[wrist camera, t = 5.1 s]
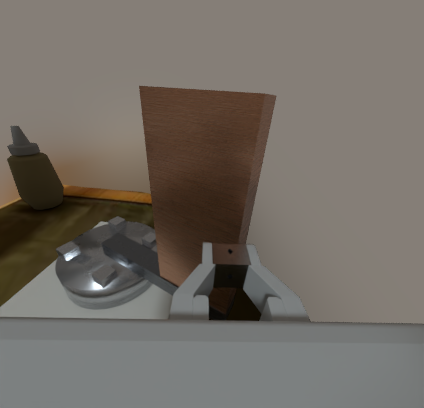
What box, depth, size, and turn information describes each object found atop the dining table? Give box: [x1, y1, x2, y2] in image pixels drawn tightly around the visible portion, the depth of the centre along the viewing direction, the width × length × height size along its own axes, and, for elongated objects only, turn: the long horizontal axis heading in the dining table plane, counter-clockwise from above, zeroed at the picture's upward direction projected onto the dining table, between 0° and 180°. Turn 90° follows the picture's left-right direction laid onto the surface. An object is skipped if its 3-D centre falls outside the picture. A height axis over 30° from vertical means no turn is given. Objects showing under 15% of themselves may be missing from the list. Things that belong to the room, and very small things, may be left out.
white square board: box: [0, 222, 173, 319], centre depth 29 cm, size 20×20×2 cm
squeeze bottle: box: [7, 126, 64, 210], centre depth 42 cm, size 8×8×18 cm
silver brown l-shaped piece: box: [55, 86, 276, 320], centre depth 20 cm, size 24×13×24 cm, turn 61°
